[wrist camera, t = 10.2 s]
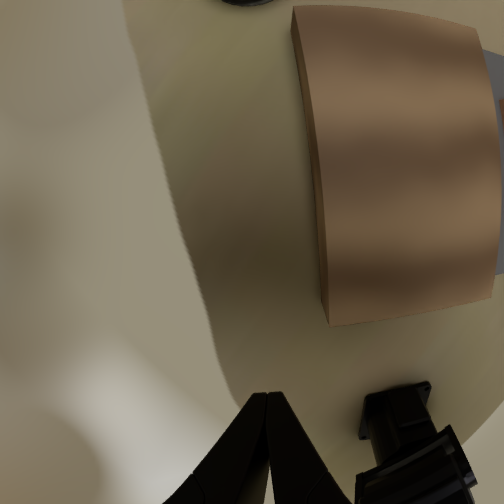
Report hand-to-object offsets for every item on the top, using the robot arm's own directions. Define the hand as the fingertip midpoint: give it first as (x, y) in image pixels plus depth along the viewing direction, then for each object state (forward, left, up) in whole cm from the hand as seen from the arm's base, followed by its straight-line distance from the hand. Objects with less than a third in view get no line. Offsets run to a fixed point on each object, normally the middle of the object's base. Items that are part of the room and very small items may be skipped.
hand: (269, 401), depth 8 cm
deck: (+6, -9, -12) cm, 16 cm away
